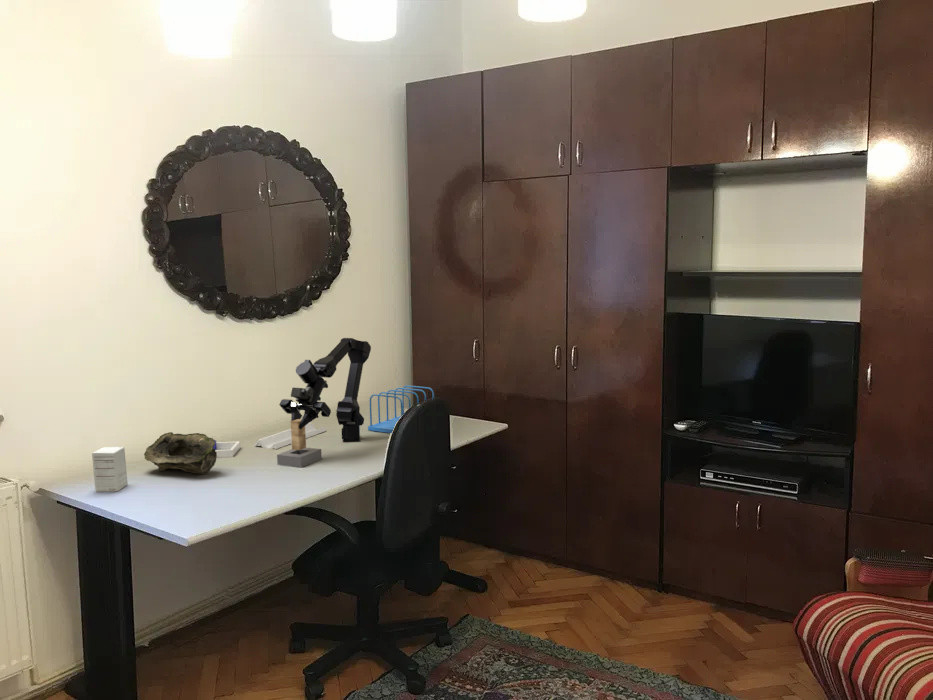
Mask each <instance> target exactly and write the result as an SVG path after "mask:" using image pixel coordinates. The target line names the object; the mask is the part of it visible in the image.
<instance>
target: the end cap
mask: <svg viewBox="0 0 933 700" xmlns="http://www.w3.org/2000/svg"><path fill="white" fill-rule="evenodd" d="M322 455H323V454H322V448H314V447H306V448H304V449H301V450H292V448H291V449H289V450H285V451H283V452H281V453H278V454H276V460H277V461H276V462H277V465H278V466H287V467H296V468H303V467H305V466H308V465H310V464H312V463H314V462H317V461H320V460H322V458H323V457H322Z"/></svg>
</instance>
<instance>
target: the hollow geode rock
mask: <svg viewBox="0 0 933 700" xmlns="http://www.w3.org/2000/svg"><path fill="white" fill-rule="evenodd" d="M215 440H216V439H213V437H209V436H208V435H207V434H204V433H201V432H200V433H199V432H198V433H197V432H196V433H188V434H182V433H174V432H172V431H171V432H166V433H164V434H161V435H159V437H158V438H157V439H156V440H155V441H154V442H153V443H152V444H151V445H149V446H147V447H146V449H145V452H144V454H143V456H144V459H145V461H147V462H150V463H152V464H154V466H157V467H158V470H159V472H163V471H165V470H169V469H175V470H178V469H179V470H182V471H184V472H186V473H187V472H188V473H192V474H197V475H207V474H208V473H209V472H210V470H212V468H213V467H214V466H215V464H216V462H217V458H218V457H217V452H215V450H216V449H213V447H214V446H215V443H216V442H217V441H216V442H215Z"/></svg>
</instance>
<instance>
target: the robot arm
mask: <svg viewBox="0 0 933 700" xmlns="http://www.w3.org/2000/svg"><path fill="white" fill-rule="evenodd" d="M371 350H372V346H371V344H370V343H369V342H368V341H367V340H358V339H355V338H353V337H343V338H341V339H340V341H339V342H338V343H337V345H336V346H335V347H334V348H333V349H332V350H331V351H330V352H329V353H328V354H327V355H325V356H324V357H322V358H319V359H318V360H315V362H312V361H311V359H304V362H303V361H302V362H301V363H300V364H298V365H297V366H296V367H295V373H296V375H297V377H299V378H300V379H301V381H302V382H303V383H304V384H306V386H305V388H302V387H292V388H291V392H290V397H291V398H295V401H296V402H294V401H293V399H288V398H287V399H286V398H283V399H281V400H280V402H279V406H280V407H281V409H282V410H283V411H284V412H285V413H286V414H289V415H291V417H290V418H291V419H290V420H291V421H293V420H296V419H302V420H301V422H300V425H299V429H302V428H303V427H304V426H306V425H307V424H308V423H312V421H314V420H315V419H319V417H320V416H319V413H320V415H321V416H322V417H325V418H329V417H330V415H331V413H332V410H331V408H330V406H328V404H327V403H326V401H321V399H322V398H321V395H322V392H323V390H324V389H328V388H329V384H328V381H327V380H325V379H324V378H327V379H329V378H332V377H333V376H334V374H335V373H336V371H337V366H338V364H339V363H340V362H341V361H342V360H343V358H344V357H346V356H347V355H348V359H349V360H350V364H349V369H348V375H347V379H346V380H347V381H346V385H345V392H344V397H343V398H342V400H340V401H339V400H338V402H337V406H336V408H337V409H336V410H335V412H336V413H335V414H336V419H337V422H338V423H337V424H338V425H340V426H342V428H341V439H342V443H348V442H349V443H350V442H360V441H361V439H362V437H361V428H360V427H361V426H363V425H364V422H365V418H364V416H363V415H362V414H361V413H360V410H361V408H360V405H359V402H358V397H359V395H358V394H359V390H360V385H361V379H362V374H363V368H364V365H365V362H367V360H368V359H369V357H370V352H371ZM301 411H304V412H303V415H302V414H301ZM291 421H290V422H291Z"/></svg>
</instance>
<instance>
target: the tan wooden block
mask: <svg viewBox="0 0 933 700" xmlns="http://www.w3.org/2000/svg"><path fill="white" fill-rule="evenodd" d="M301 420H302V418H300V419H296V420H293V421H290V429H291V437H292V444H291V449H292V450H301V449H304V448H307V441H306V439H307V438H306V435H305V426H304V427H303V428H302V429H299V425H300V422H301Z"/></svg>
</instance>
